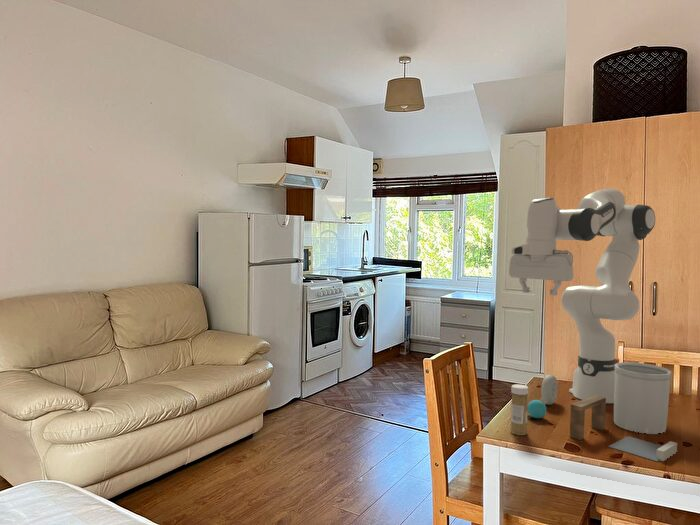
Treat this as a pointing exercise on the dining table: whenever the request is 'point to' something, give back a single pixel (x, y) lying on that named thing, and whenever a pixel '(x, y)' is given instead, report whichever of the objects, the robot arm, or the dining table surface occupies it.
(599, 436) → the dining table surface
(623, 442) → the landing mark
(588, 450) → the dining table surface
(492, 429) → the dining table surface
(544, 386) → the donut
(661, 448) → the stopper wall
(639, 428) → the utensil holder
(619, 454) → the dining table surface
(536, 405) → the ball
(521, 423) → the sprinkles bottle
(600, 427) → the bridge
